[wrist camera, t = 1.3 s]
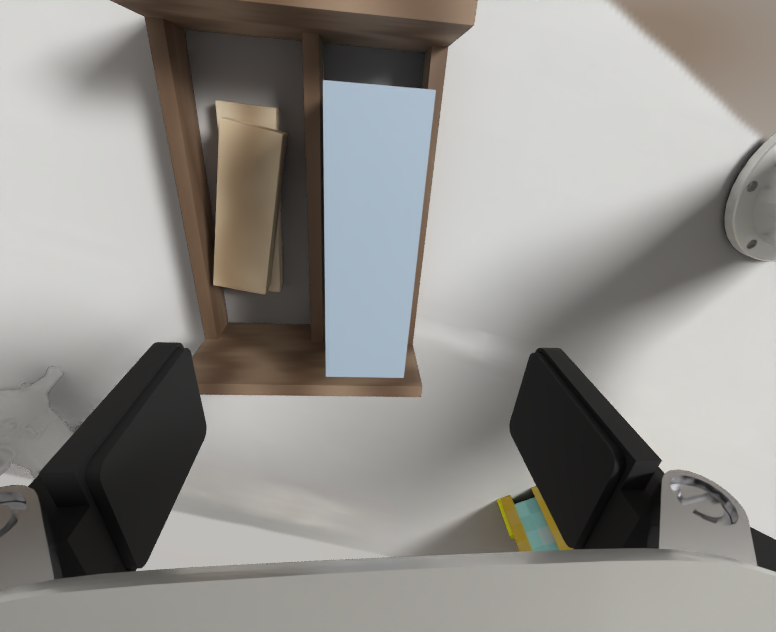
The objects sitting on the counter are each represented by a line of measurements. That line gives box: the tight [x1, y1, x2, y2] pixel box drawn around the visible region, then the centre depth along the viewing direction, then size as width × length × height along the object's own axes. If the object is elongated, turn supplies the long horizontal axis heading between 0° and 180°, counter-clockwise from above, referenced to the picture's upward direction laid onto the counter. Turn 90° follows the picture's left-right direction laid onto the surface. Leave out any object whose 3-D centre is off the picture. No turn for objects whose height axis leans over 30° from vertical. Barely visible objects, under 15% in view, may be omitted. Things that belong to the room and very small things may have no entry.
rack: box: [111, 0, 478, 397], centre depth 26 cm, size 18×24×9 cm
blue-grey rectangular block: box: [323, 80, 436, 378], centre depth 25 cm, size 5×16×12 cm, turn 176°
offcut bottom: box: [215, 100, 283, 292], centre depth 29 cm, size 4×14×2 cm, turn 173°
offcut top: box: [213, 117, 288, 295], centre depth 28 cm, size 4×12×2 cm, turn 166°
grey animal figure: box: [0, 366, 80, 478], centre depth 32 cm, size 5×13×11 cm, turn 29°
